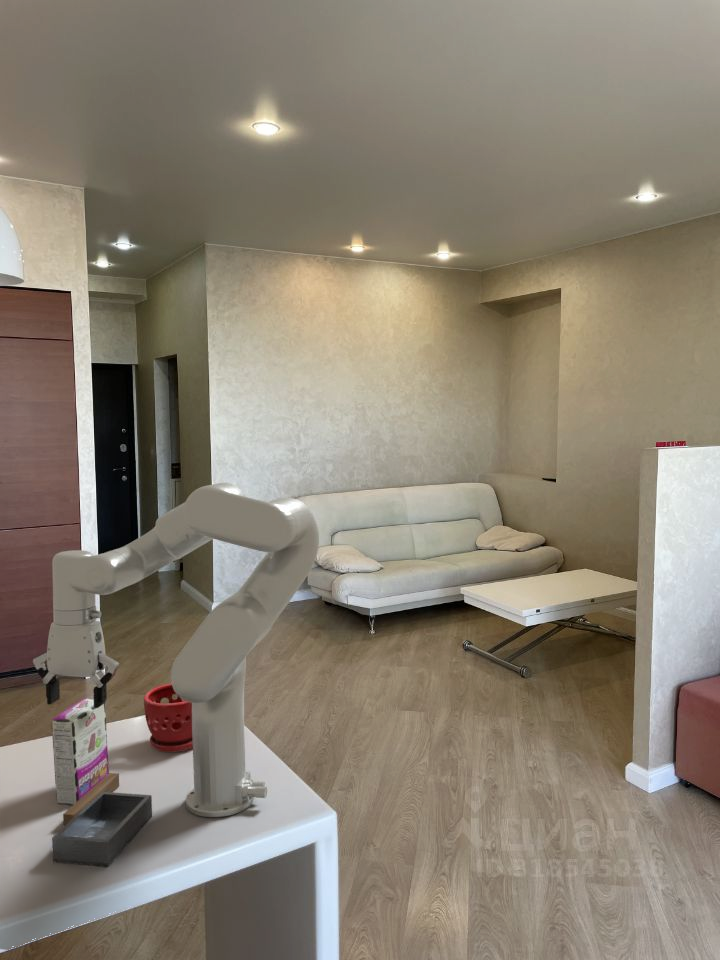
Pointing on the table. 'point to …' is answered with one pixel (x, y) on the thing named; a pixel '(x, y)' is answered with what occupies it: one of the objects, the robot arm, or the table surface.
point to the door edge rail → (92, 795)
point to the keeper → (102, 829)
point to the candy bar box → (79, 750)
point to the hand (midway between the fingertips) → (76, 703)
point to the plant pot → (168, 720)
